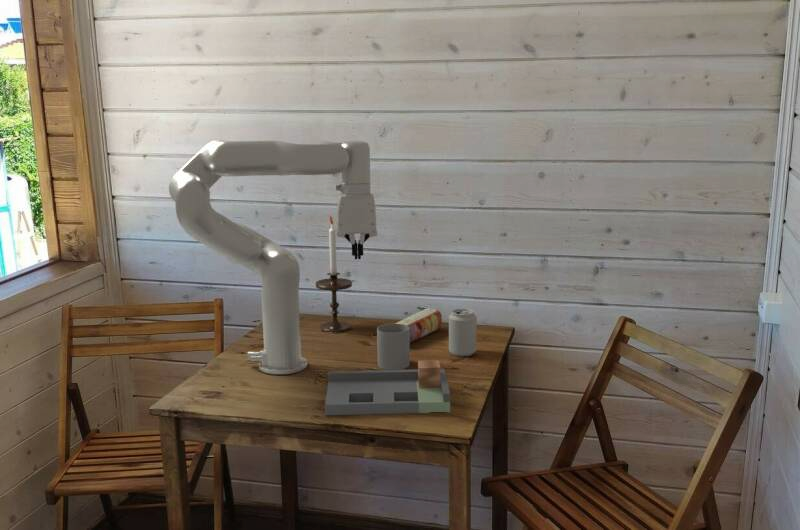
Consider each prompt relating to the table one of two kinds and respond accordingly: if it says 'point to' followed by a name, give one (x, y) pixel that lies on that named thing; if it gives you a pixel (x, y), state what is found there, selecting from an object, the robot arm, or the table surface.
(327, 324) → the candlestick
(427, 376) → the block
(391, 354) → the cup
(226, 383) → the table surface
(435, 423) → the table surface
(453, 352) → the can
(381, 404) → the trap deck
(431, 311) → the snack package
